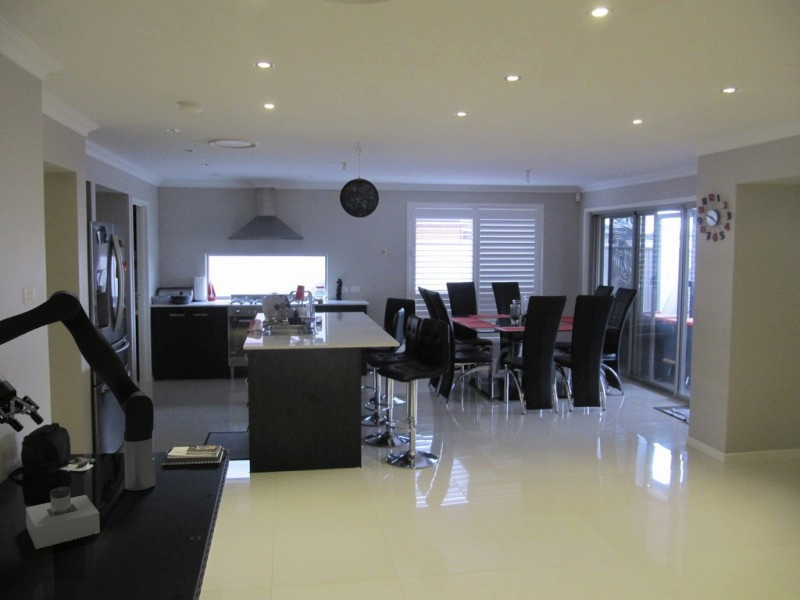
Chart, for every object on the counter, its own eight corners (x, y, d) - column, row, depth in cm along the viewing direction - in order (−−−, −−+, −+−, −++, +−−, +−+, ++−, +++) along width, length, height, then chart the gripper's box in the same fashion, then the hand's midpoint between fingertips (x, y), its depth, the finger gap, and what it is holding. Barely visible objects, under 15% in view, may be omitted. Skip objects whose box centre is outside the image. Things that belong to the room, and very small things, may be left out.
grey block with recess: (86, 513, 189) (85, 494, 189) (99, 532, 175) (99, 512, 175) (26, 527, 180) (25, 507, 179) (35, 549, 165) (35, 527, 165)
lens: (69, 518, 181) (68, 485, 180) (73, 523, 177) (72, 490, 176) (50, 523, 178) (48, 489, 177) (53, 529, 174) (51, 494, 173)
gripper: (-16, 384, 178) (22, 423, 177) (20, 376, 192) (55, 412, 191) (-32, 402, 179) (6, 441, 178) (5, 392, 193) (40, 428, 192)
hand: (31, 426), depth 185 cm, fingers open, 8 cm apart
